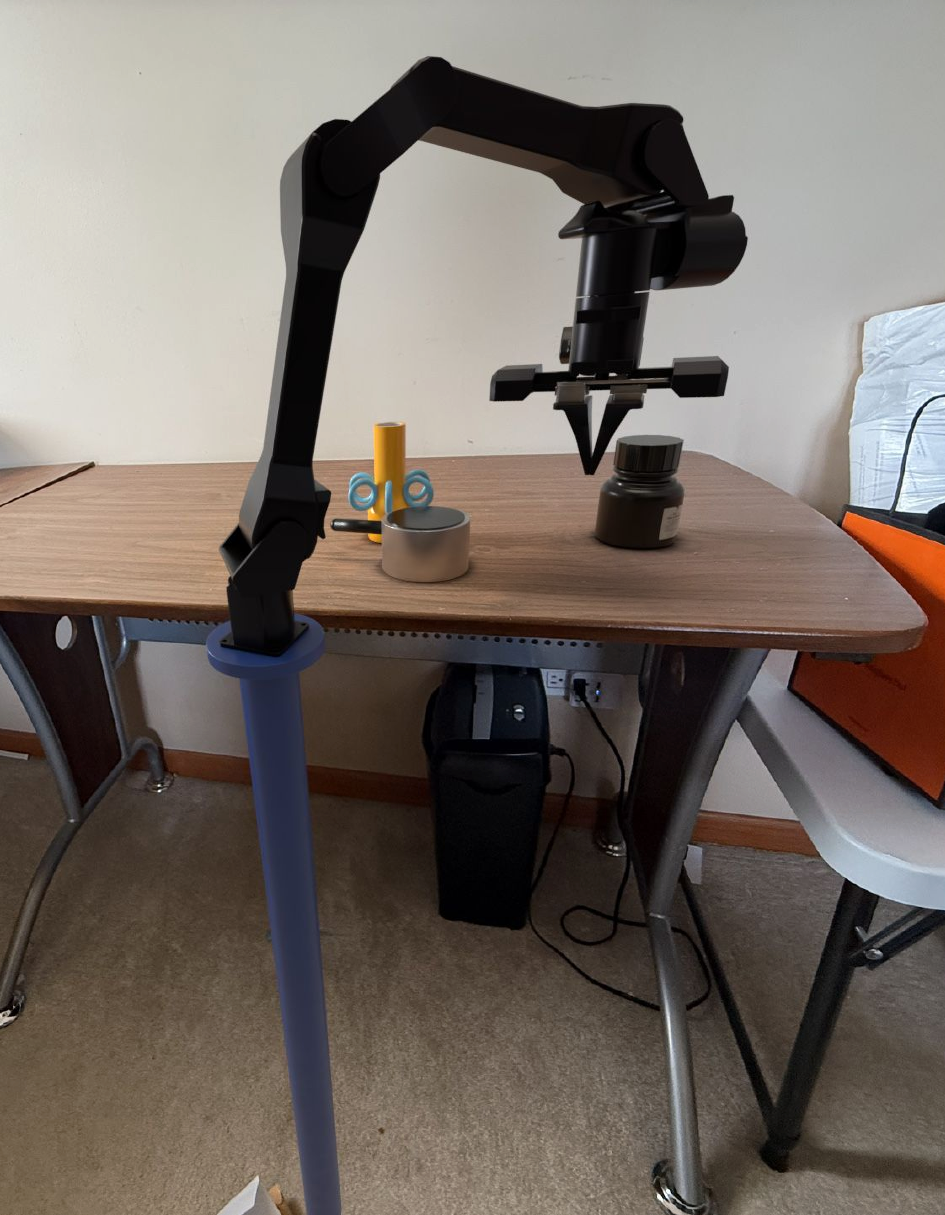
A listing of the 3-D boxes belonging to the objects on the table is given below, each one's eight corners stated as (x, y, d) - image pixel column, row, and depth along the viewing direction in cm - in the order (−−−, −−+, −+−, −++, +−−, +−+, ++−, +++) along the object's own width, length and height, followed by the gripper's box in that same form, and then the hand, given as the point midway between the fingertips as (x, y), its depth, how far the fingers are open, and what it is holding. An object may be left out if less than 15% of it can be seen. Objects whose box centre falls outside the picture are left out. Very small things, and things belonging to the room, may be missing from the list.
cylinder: (369, 557, 79) (366, 435, 72) (333, 535, 88) (328, 426, 81) (451, 539, 82) (455, 422, 76) (408, 520, 91) (409, 414, 85)
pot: (475, 555, 76) (477, 506, 74) (458, 586, 68) (460, 532, 66) (345, 545, 83) (344, 500, 81) (317, 572, 75) (314, 523, 73)
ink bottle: (685, 552, 72) (706, 447, 67) (600, 551, 74) (615, 449, 69) (664, 526, 80) (681, 431, 75) (588, 526, 83) (600, 433, 78)
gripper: (732, 284, 56) (698, 458, 62) (514, 303, 65) (504, 455, 71) (747, 282, 47) (706, 486, 54) (493, 305, 56) (484, 478, 62)
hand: (589, 474), depth 60 cm, fingers closed
